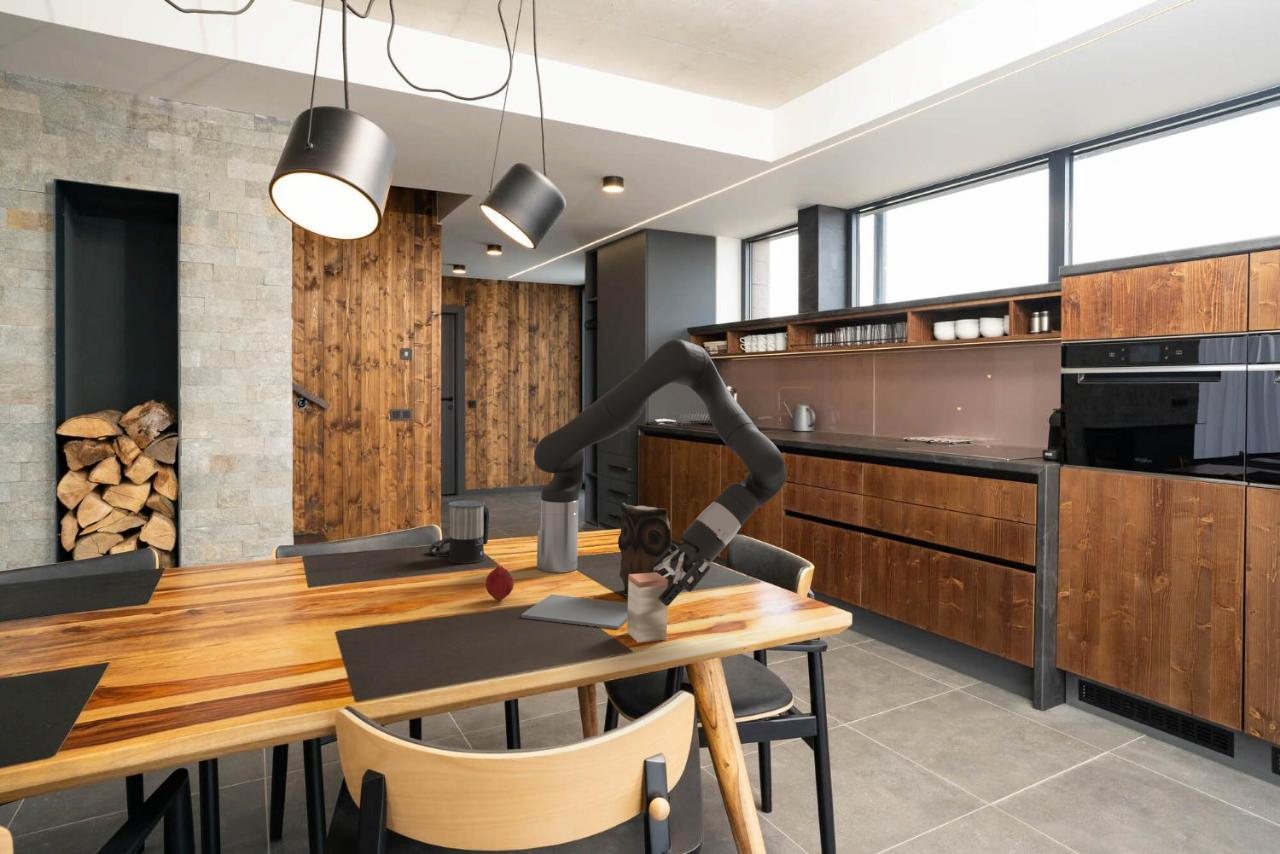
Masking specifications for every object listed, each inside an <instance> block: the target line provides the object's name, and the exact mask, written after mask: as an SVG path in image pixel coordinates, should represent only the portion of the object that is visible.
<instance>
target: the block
mask: <svg viewBox="0 0 1280 854" xmlns="http://www.w3.org/2000/svg"><path fill="white" fill-rule="evenodd" d="M667 587H668V580H667V579H666V578H664V577H663V576H661V575H660V574H658V573H657V572H655V573H641V574H629V577H628V597H627V603H628V618H627V621H626V622H627V623H626V625H627V627H626V628H627V629H626V633H627V634H628V635H629V636H630V637H631V638H632V639H633V640H634V641H636V642H637V643H646V642H654V641H655V642H656V641H666V640H667V637H668V636H667V633H668V632H667V629H668V606H665V605H664V604H663V603H662V602H661V601H660V600H659V596H660V595H661V594H662V593H663V592H664V591H665V590H666V589H667ZM665 639H666V640H665Z"/></svg>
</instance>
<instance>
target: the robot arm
mask: <svg viewBox="0 0 1280 854" xmlns="http://www.w3.org/2000/svg"><path fill="white" fill-rule="evenodd" d="M719 373H720V372H718V370H717V368H716V365H715V364H714V362H713V360H712V358H711V357H710V355H709V353H708V352H707V350H705V348H703V347H702V346H700V345H698V344H695V343H692V342H690V341H687V340H684V339H679V338H677V339H671V340H668V341H667V342H665V343H664V344H662V345H660V347H659V348H657V350H655V352H653V354H652V355H650V356H649V357H648V358H647V359H645V361H644V362H643V363H642V364H641V365H639V367H638V368H636V369H635V370H634V371H633V372H632V373H630V374H629V375H628V376H626V378H624V379H623V380H621V382H619V383H618V384H617V385H615V386H614V387H613V388H611V389H610V390H608V391H607V392H605V394H602V396H601V397H598V399H596V401H595V400H594V402H593V403H592V404H590V405H589V406H588V407H586V408H585V409H584V410H582V411H581V412H580V413H579V414H578V415H576V416H575V417H574V418H573V419H571V420H570V421H569V422H567V423H566V424H564V425H563V426H562V427H560V428H558V429H556V430H554V431H552V432H551V433H549V434H548V435H546V436H543V438H542V439H540V441H538V443H537V444H536V447H535V449H534V454H533V457H534V463H535V465H536V467H537V468H538V469H539V470H540V471H543V472H545V473H548V474H553V476H552V479H551V480H550V481H549V482H548V484H546V485H544V486H543V487H542V489H541V493H540V496H541V497H540V501H541V503H540V529H539V530H537V536H536V537H537V538H536V539H537V540H536V543H537V545H536V550H537V551H536V552H537V553H536V569H537V570H541V571H544V572H550V573H569V572H573V571H576V570H577V569H578V552H579V551H578V550H579V549H578V548H579V547H578V545H579V542H578V541H579V505H580V504H579V500H580V497H579V496H580V492H581V490H582V487H583V481H584V480H583V477H584V465H585V463H584V462H585V454H584V452H585V451H584V449H586V448H587V447H590V446H593V445H595V444H598V443H600V442H602V441H603V442H604V441H605V440H608V439H610V438H612V437H614V436H616V435H618V434H620V433H621V432H623V431H624V430H625V429H627V428H628V427H630V426H631V425H633V424H634V423H635V422H636V421H637V420H638V419H639V418H640V416H641V415H642V413H643V411H644V409H645V407H646V404H647V403H648V401H649V399H650V397H651V396H652V395H654V394H655V393H657V392H658V391H659V390H661V389H662V388H664V387H665V386H668V385H669V384H673V383H675V384H678V385H682V386H688V387H689V388H690V389H691V390H692V391H693V392H695V394H696V395H697V396H698V397H699V398H700V399H701V400H702V401H703V403H704V405H705V407H706V409H707V412H708V413H707V414H708V416H709V419H710V423H711V425H712V427H713V429H714V430H715V432H716V434H718V436H719V437H720V439H721V440H722V442H723V443H724V444H725V446H726V447H727V449H729V451H730V452H732V453H733V454H734V455H735V456H738V457H739V458H740V460H741V461H742V462H743V464H744V466H746V468H747V470H748V475H747V476H746V477H744V479H743V480H741V481H740V482H739V483H738V482H733V483H730V484H729V485H728V486H727V487H725V488H724V490H723V491H722V492H721V493H720V494H719V495H718V496H717V497H716V498H715V499H714V501H713V502H712V503H710V505H708V506H707V507H706V508H704V510H703V511H702V512H701V513H700V514H699V515H698V516H697V517H696V518H695V519H694V520H693V522H692V523H691V524H690V525H689V526H688V527H687V528H686V529H685V530H684V532H683V533H682V534H681V540H682V541H683V543H682V545H680V546H679V547H678V546H677V545H676V544H675V542H672V544H671V545H670V546H669V547H668V548H667V549H666V550H665V551H664V552H663V553H662V554H661V555H660V556H659V557H658V559H657V560H656V561H655V562H654V563H653V564H652V565H653V566H654V572H653V573H655V572H657V573H658V574H660V575H661V576H663V577H664V578H665V577H667V576H668V575H675V574H676V576H675V579H674V581H673V583H674V584H673V583H671V584H670V585H669V586H668V587H667V589H666V590H665V591H664V592H663V593H662V594H661V595H660V596H659V600H660V601H661V602H662V603H663V604H664V605H665V606H667V607H668V606H669V605H671V604H672V602H673V601H674V600H675V599H676V598H677V596H679V594H680V593H681V592H682V593H683V592H685V591H687V592H688V593H691V592H692V591H693V590H694V589H695V587H697V585H699V583H700V581H701V580H702V579H703V578H704V577H705V575H706V574H707V573H708V572H709V571H710V569H711V566H710V565H709V564H710V563H712V562H713V561H714V560H715V559H716V557H718V556H719V554H720V553H721V552H722V551H723V550H724V549H725V548H726V547H727V545H728V544H729V543H730V542H731V541H732V540H733V538H734V537H735V536H736V535H737V533H738V532H739V530H740V529H741V527H742V526H744V524H745V523H746V522H747V521H748V520H749V518H750V517H751V516H752V515H753V514H754V512H755V511H756V510H757V509H758V508H761V507H762V506H763V505H764V504H766V503H767V502H768V501H770V500H771V499H772V498H774V497H775V496H776V495H777V494H778V493H779V492H780V491H781V489H782V488H783V486H784V485H785V483H786V482H787V481H786V480H787V474H788V473H787V469H786V462H785V458H784V456H783V454H782V453H781V451H780V450H779V448H778V447H777V446H776V445H775V444H774V442H773V441H771V439H770V438H768V437H767V436H766V435H765V434H764V433H763V432H761V431H760V430H759V429H758V427H757V426H756V424H755V423H754V422H753V421H752V419H751V418H750V417H749V415H748V414H747V413H746V412H745V411H744V410H743V408H742V407H741V405H740V404H739V403H738V402H737V400H736V399H735V398H734V396H733V395H732V393H731V391H730V390H729V389H728V387H727V386H726V383H725V382H724V380H723V379H722V377H721V375H720V374H719ZM669 555H670V556H669ZM662 560H663V562H662V563H661V564H659V563H660V562H661V561H662ZM708 563H709V564H708ZM666 569H667V570H666ZM665 570H666V571H665ZM664 571H665V572H664Z"/></svg>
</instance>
